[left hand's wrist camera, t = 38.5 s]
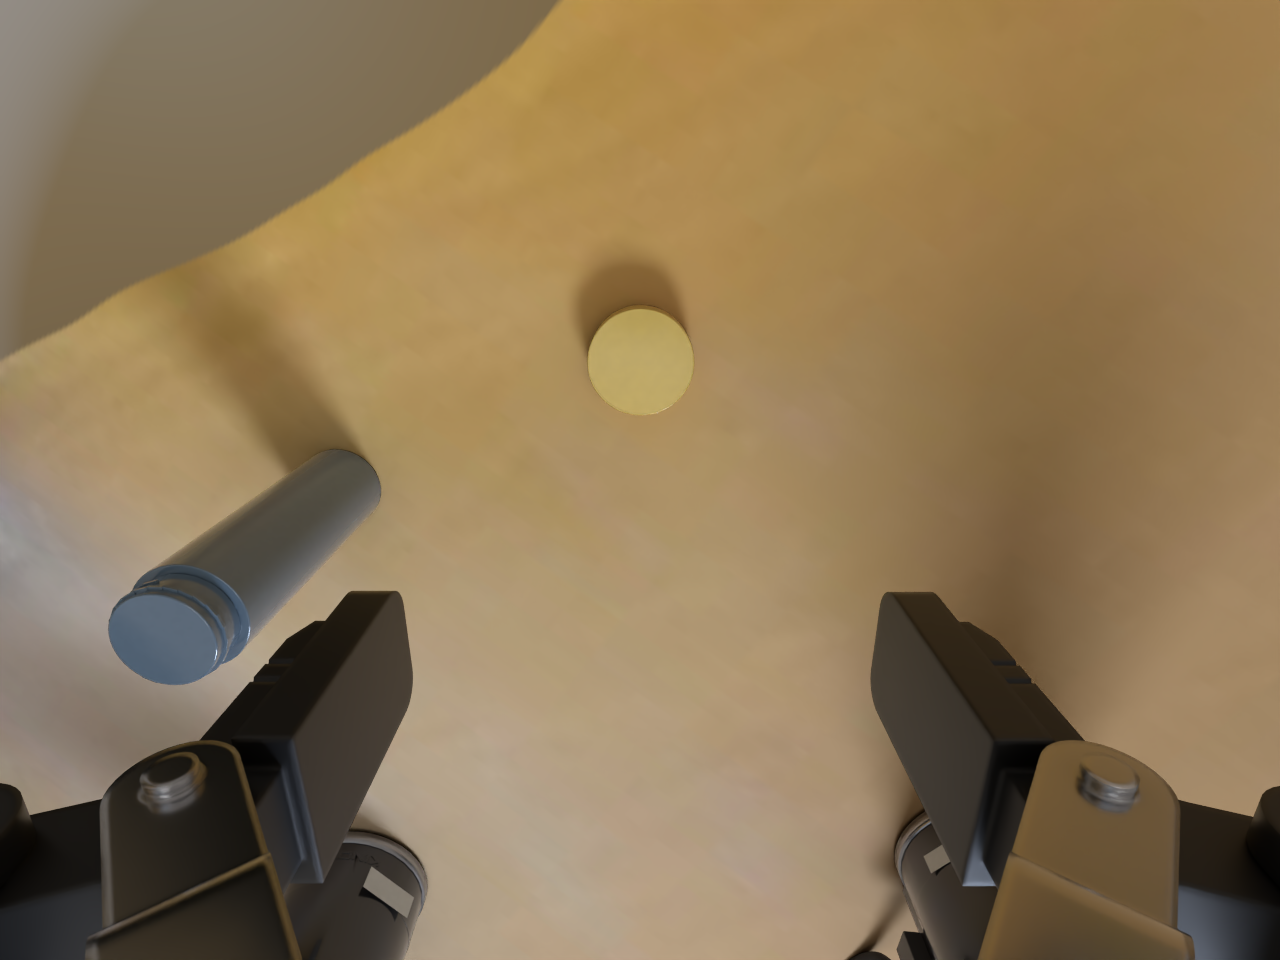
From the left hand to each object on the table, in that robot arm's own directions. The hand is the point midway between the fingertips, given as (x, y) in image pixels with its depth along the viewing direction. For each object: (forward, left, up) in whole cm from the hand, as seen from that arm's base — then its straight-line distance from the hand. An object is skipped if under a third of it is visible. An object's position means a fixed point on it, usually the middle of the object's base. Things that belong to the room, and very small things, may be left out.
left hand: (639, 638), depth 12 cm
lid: (0, 0, -25) cm, 25 cm away
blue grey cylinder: (-9, +16, -26) cm, 32 cm away
